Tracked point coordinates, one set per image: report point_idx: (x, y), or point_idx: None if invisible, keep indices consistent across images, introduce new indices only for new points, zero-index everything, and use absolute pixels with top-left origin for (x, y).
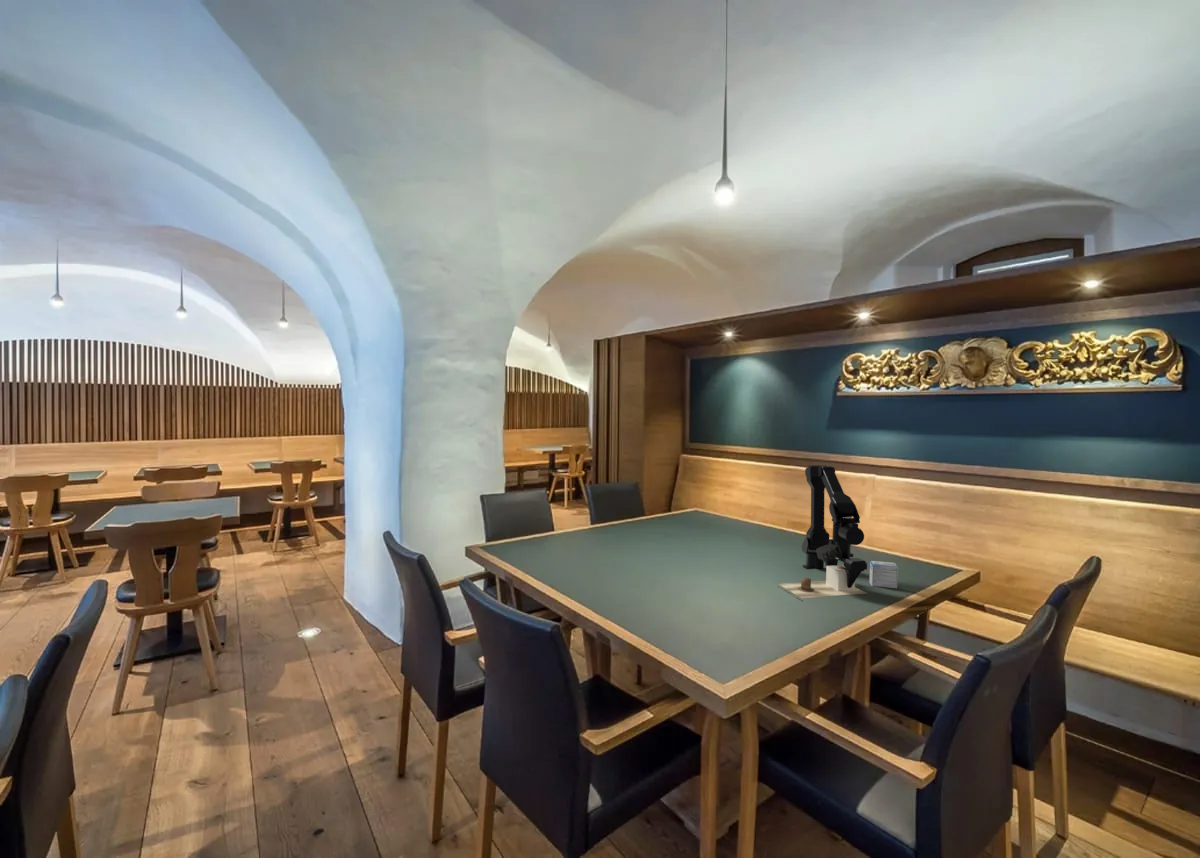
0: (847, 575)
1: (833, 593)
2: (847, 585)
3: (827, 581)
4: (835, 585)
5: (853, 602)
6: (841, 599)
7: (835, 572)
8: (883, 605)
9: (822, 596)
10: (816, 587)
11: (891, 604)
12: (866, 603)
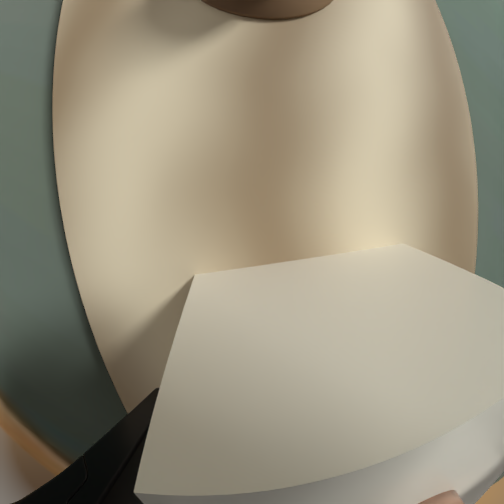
0: (82, 492)
1: (113, 177)
2: None
3: (406, 258)
4: (244, 284)
5: (16, 287)
6: (58, 222)
7: (290, 422)
8: (27, 419)
9: (60, 40)
10: (326, 80)
11: (56, 455)
12: (22, 361)
